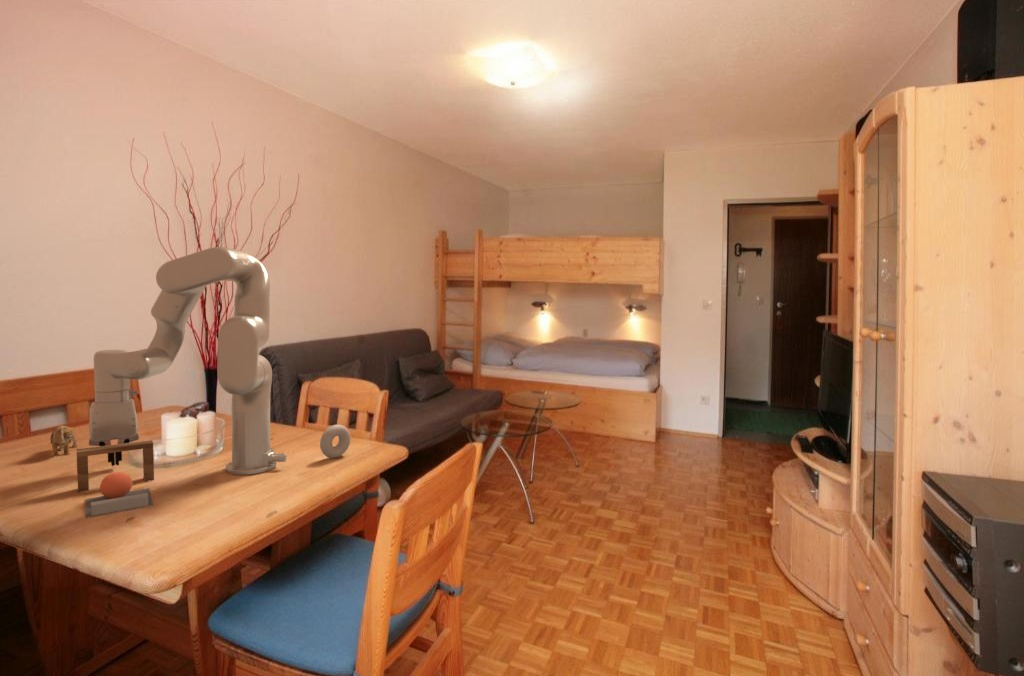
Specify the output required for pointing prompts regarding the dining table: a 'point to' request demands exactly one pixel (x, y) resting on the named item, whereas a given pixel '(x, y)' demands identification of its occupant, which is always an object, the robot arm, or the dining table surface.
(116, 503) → the wall
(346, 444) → the donut
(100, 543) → the dining table surface
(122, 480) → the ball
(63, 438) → the brown toy animal
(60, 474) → the dining table surface
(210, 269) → the robot arm
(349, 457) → the dining table surface
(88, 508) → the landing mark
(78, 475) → the bridge
